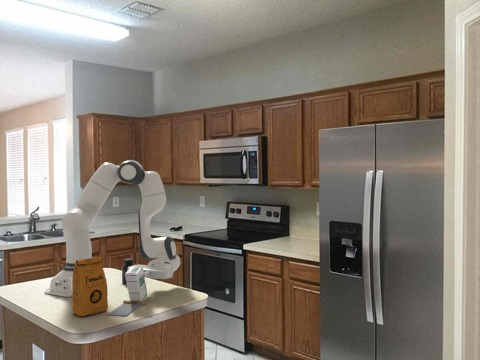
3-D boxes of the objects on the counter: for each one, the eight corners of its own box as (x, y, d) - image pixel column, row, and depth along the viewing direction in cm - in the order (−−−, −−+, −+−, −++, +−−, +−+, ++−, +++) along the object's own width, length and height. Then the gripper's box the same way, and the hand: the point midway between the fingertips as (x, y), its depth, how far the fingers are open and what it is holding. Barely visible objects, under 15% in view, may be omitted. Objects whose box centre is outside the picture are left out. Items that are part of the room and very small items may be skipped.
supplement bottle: (138, 282, 207) (138, 259, 206) (126, 285, 202) (126, 261, 201) (131, 280, 211) (131, 257, 211) (119, 283, 206) (119, 259, 206)
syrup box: (142, 303, 174) (137, 273, 169) (129, 302, 175) (124, 273, 171) (147, 295, 179) (143, 266, 175) (135, 295, 180) (130, 266, 176)
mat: (107, 315, 160) (107, 314, 160) (123, 304, 173) (123, 303, 173) (125, 316, 158) (125, 315, 158) (140, 305, 171) (140, 304, 171)
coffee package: (110, 312, 164) (110, 257, 163) (79, 320, 155) (79, 262, 155) (100, 306, 171) (99, 253, 170) (69, 313, 162) (69, 258, 162)
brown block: (123, 303, 174) (123, 300, 174) (124, 302, 175) (124, 300, 175) (145, 305, 172) (145, 302, 172) (146, 304, 173) (146, 301, 173)
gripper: (138, 260, 194) (119, 266, 181) (175, 263, 186) (158, 270, 173) (138, 273, 194) (119, 280, 181) (175, 277, 186) (158, 285, 174)
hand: (138, 275), depth 177 cm, fingers closed
